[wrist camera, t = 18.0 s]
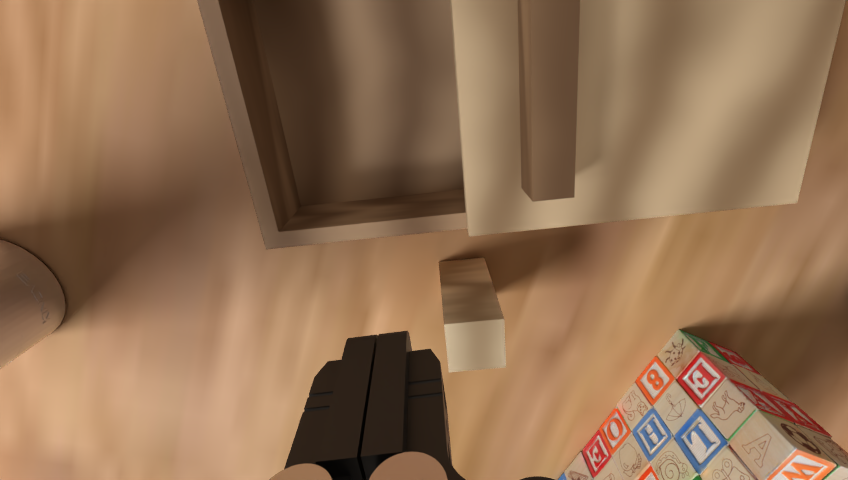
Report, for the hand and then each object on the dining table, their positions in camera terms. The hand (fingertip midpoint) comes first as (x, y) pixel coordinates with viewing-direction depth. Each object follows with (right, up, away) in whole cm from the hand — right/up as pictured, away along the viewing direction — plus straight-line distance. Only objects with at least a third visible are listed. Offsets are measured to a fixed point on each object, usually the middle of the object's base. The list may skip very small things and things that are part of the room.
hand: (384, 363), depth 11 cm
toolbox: (+2, +13, +17) cm, 21 cm away
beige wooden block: (+4, 0, +22) cm, 23 cm away
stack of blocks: (+21, -14, +29) cm, 38 cm away
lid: (+12, +12, +11) cm, 20 cm away
